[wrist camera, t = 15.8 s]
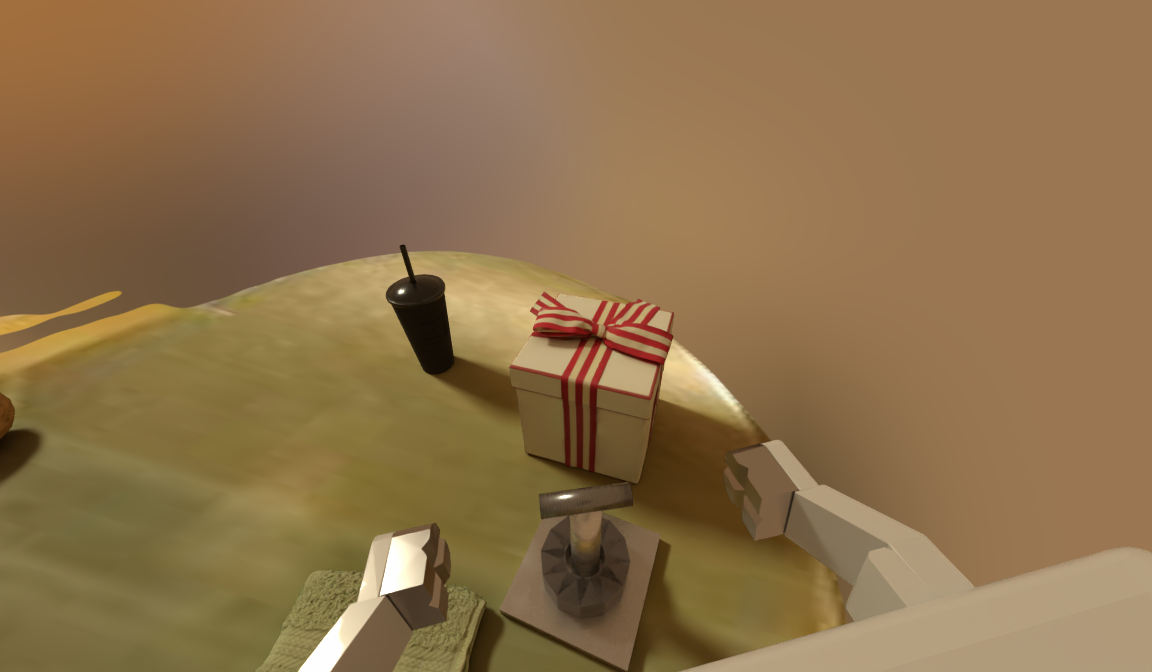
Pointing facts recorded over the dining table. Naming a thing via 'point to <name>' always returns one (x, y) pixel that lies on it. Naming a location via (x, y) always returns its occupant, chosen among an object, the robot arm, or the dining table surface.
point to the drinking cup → (423, 317)
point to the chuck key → (585, 519)
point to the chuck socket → (585, 589)
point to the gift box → (592, 382)
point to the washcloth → (432, 653)
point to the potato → (5, 415)
